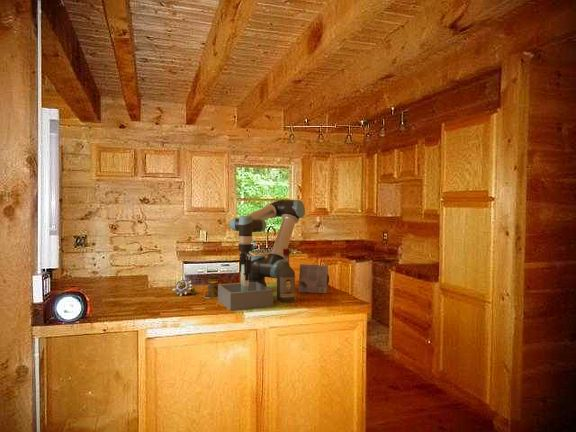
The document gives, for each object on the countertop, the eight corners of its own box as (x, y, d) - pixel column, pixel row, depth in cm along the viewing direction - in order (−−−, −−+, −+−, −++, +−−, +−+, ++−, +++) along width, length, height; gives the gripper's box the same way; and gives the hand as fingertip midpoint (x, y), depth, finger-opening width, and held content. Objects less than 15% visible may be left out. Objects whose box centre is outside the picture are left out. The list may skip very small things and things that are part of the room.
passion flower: (181, 305, 236) (168, 289, 234) (184, 297, 247) (173, 282, 245) (196, 295, 236) (184, 279, 233) (199, 287, 246) (187, 272, 244)
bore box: (217, 300, 227) (218, 284, 227) (256, 296, 237) (257, 281, 237) (230, 310, 205) (230, 293, 205) (272, 306, 216) (273, 289, 215)
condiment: (220, 297, 236) (220, 277, 235) (206, 298, 231) (207, 278, 231) (215, 294, 242) (215, 275, 241) (202, 296, 237) (202, 276, 237)
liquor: (275, 299, 231) (276, 248, 231) (290, 298, 235) (290, 248, 234) (280, 303, 223) (281, 250, 222) (295, 301, 226) (296, 249, 225)
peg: (240, 291, 222) (240, 264, 221) (246, 290, 224) (247, 264, 223) (242, 292, 218) (242, 265, 218) (249, 291, 220) (249, 265, 220)
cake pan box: (328, 292, 253) (329, 264, 253) (328, 293, 248) (329, 265, 248) (299, 290, 255) (299, 263, 255) (298, 292, 250) (298, 264, 250)
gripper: (234, 242, 226) (233, 282, 227) (244, 245, 211) (243, 288, 212) (246, 241, 230) (246, 281, 230) (257, 244, 214) (256, 287, 215)
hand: (244, 285), depth 221 cm, fingers closed on peg, 4 cm apart
